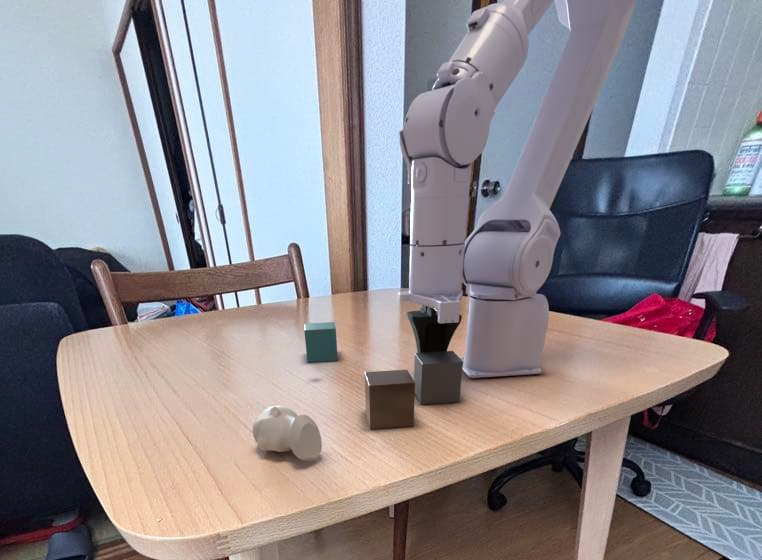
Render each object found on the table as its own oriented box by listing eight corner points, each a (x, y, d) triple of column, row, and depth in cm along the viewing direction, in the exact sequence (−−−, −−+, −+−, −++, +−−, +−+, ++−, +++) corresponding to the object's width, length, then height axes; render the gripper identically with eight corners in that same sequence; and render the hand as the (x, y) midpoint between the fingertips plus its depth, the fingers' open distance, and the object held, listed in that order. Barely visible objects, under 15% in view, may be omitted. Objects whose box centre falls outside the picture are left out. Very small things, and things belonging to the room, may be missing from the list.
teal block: (336, 353, 73) (334, 321, 70) (337, 360, 69) (335, 328, 66) (307, 354, 72) (304, 323, 70) (307, 362, 69) (304, 330, 66)
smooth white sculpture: (254, 454, 47) (295, 427, 48) (290, 483, 41) (335, 452, 42) (233, 417, 44) (277, 389, 45) (269, 443, 38) (318, 411, 39)
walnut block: (406, 410, 52) (407, 369, 49) (413, 426, 48) (415, 382, 45) (365, 413, 51) (364, 372, 49) (370, 429, 48) (369, 385, 45)
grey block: (449, 389, 57) (453, 350, 54) (459, 402, 53) (463, 361, 50) (413, 391, 57) (414, 352, 54) (420, 404, 53) (422, 364, 50)
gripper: (390, 241, 55) (389, 361, 63) (411, 251, 43) (407, 397, 51) (449, 238, 55) (441, 358, 63) (487, 247, 43) (471, 393, 51)
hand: (430, 375), depth 57 cm, fingers closed
